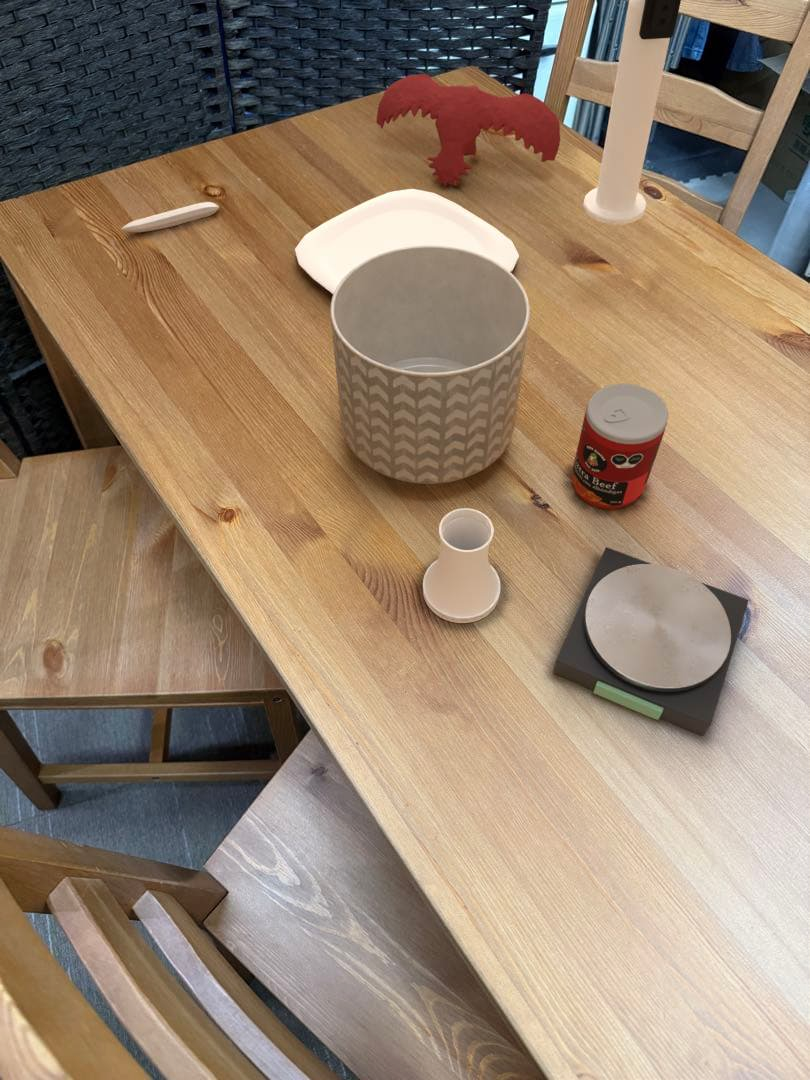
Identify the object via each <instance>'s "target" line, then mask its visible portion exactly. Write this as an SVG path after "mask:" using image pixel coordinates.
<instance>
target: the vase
mask: <svg viewBox="0 0 810 1080" xmlns="http://www.w3.org/2000/svg"><path fill="white" fill-rule="evenodd" d="M494 532H495V529H494V525H493V522H492V520H491V519H490V517H488V516H487V514H485V513H483V512H482V511H480V510H477V509H475V508H468V507H463V508H456V509H454V510H451V511H450V512H448V513H446V514H445V515H444V516H443V517H442V519H441V521H440V522H439V526H438V534H439V539H440V550H439V556H438V558H437V559H435V560H434V561H433V562H432V563H431V564H430V565H429V567H428V568H427V569H426V571H425V573H424V576H423V580H422V595H423V599H424V601H425V603H426V606H427V607H428V608H429V610H431V611H432V612H433V613H434V614H435V615H436V616H437V617H439V618H441V619H443V620H445V621H447V622H451V623H454V624H455V623H457V624H470V623H473V622H474V623H475V622H477V621H479V620H482V619H484V618H485V617H487V616H489V615H490V614H491V613H492V612H493V610H494V609H495V608H496V607H497V605H498V602H499V600H500V594H501V580H500V577H499V574H498V572H497V571H496V569H495V568H494V567H493V566H492V564H491V563H490V560H489V551H490V545H491V543H492V539H493V537H494V534H495V533H494Z"/></svg>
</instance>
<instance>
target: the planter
mask: <svg viewBox="0 0 810 1080" xmlns="http://www.w3.org/2000/svg"><path fill="white" fill-rule="evenodd" d="M329 310H330V311H329V312H330V323H331V334H332V343H333V344H332V345H333V352H334V365H335V374H336V384H337V394H338V403H339V415H340V424H341V430H342V434H343V437H344V439H345V442H346V443H347V445H348V447H349V448H350V450H351V451H352V452H353V454H354V455H355V456H356V457H357V458H358V459H359V460H360V461H361V462H362V463H363V464H365V465H366V466H367V467H369V468H371V469H372V470H374V471H376V472H377V473H379V474H382V475H384V476H386V477H388V478H391V479H394V480H396V481H397V480H398V481H401V482H406V483H411V484H424V485H426V484H428V485H432V484H433V485H436V484H445V483H451V482H455V481H460V480H463V479H466V478H469V477H472V476H474V475H476V474H478V473H479V472H481V471H484V470H485V469H486V468H488V467H489V466H491V465H492V464H493V463H495V462H496V461H497V460H498V459H499V458H500V457H501V456H502V455H503V453H504V452H505V451H506V450H507V448H508V446H509V445H510V443H511V440H512V438H513V435H514V431H515V426H516V419H517V413H518V405H519V397H520V392H521V391H520V390H521V384H522V376H523V369H524V362H525V355H526V354H525V353H526V346H527V340H528V332H529V326H530V319H531V306H530V301H529V297H528V294H527V291H526V290H525V288H524V286H523V285H522V283H521V282H520V281H519V280H518V277H516V276H515V275H514V274H513V272H509V271H508V270H507V269H506V268H504V267H503V266H502V265H500V264H499V263H497V262H495V261H493V260H491V259H489V258H487V257H485V256H483V255H480V254H478V253H475V252H471V251H468V250H464V249H460V248H454V247H447V246H433V245H428V246H412V247H405V248H400V249H395V250H391V251H388V252H385V253H382V254H379V255H377V256H374V257H372V258H370V259H368V260H366V261H364V262H363V263H361V264H359V265H358V266H357V267H355V268H354V269H352V270H351V271H350V272H349V273H348V274H347V275H346V276H345V277H344V278H343V279H342V280H341V282H340V283H339V285H338V286H337V288H336V290H335V292H334V294H333V295H332V297H331V301H330V309H329Z"/></svg>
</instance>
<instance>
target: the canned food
mask: <svg viewBox="0 0 810 1080" xmlns="http://www.w3.org/2000/svg"><path fill="white" fill-rule="evenodd" d="M668 420H669V409H668V406H667V403H666V402H665V401H664V399H663V398H662V397H661V396H659V395H658V393H656V392H655V391H653V390H652V389H649V388H647V387H645V386H642V385H639V384H634V383H614V384H610V385H606V386H604V387H602V388H600V389H598V390H597V391H595V392H594V394H593V395H591V397H590V399H589V401H588V404H587V405H586V409H585V412H584V416H583V421H582V424H581V425H582V426H581V430H580V435H579V439H578V444H577V449H576V453H575V458H574V462H573V466H572V472H571V480H572V485H573V489H574V490H575V492H576V494H577V495H578V496H579V497H580V499H581V500H583V501H585V502H586V503H588V504H590V505H592V506H594V507H597V508H601V509H613V510H615V509H619V508H624V507H627V506H629V505H631V504H633V503H634V502H636V500H637V499H638V498H639V497H640V496H641V495H642V494H643V493H644V491H645V489H646V486H647V483H648V480H649V477H650V475H651V473H652V469H653V466H654V463H655V461H656V457H657V455H658V453H659V450H660V446H661V444H662V440H663V437H664V434H665V432H666V428H667V425H668Z"/></svg>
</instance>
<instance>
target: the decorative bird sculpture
mask: <svg viewBox="0 0 810 1080" xmlns="http://www.w3.org/2000/svg"><path fill="white" fill-rule="evenodd" d="M419 110H421V111H420V112H421V118H423V119H424V118H426V117H427V116H428V115H429V118H430V119H431V120H432V121H433V120H435V121H434V125H435V129H436V131H437V135H438V140H439V143H440V151H439V152H438V154H437V155H435V156H431V157H427V160H428V161H431V162H430V163H429V164H428V165H427V166H428V168H431V169H434V170H435V171H433V173H432V175H433V176H436V177H437V178H436V180H435V182H437V183H443V187H444V188H447V187H448V184H449V185H452V186H454V187H457V186H458V185H457V181H459V182H461V181H462V178H461V176H469V172H468V171H467V170H473V169H474V167H473V166H471V165H469V164H467V163H466V162H465V159H464V158H465V157H466V156H467V157H468V156H473V157H474V158H473V160H475V158H476V157H477V155H478V154H480V152H481V150H480V151H478V149H477V143H476V142H477V138H478V137H479V135H480V134H481V132H482V129H483V130H485V131H486V132H488V131H489V129H490V128H491V127H493V130H494V132H495V133H498V132H499V131H500V130H501V129H503V135H504V136H507V135H509V134H511V132H514V140H515V141H517V142H518V141H520V140H523V146H524V148H525V149H526V150H530V147H533V154H535V155H537V154H540V153H541V162H542V163H543V162H547V161H552V162H553V161H555V160H556V156H557V155H558V151H559V148H560V145H561V144H560V143H561V132H560V130H561V125H560V120H559V118H558V116H557V114H556V113H555V112H554V111H553V110H552V109H551V108H550V107H549V106H548V105H547V104H546V102H544V101H542V100H541V99H540V98H538V97H535V96H534V95H533V94H529V93H520V94H517V95H513V96H506V97H503V96H497V95H495V94H492V93H489V92H486V91H484V90H482V89H480V88H479V87H478V85H476V84H474V85H448V86H446V85H441V84H440V83H438V82H436V81H435V80H434V79H433V78H432V77H431V76H430V75H429V74H427V73H420V74H410V75H407V76H404V77H403V78H400V79H399V80H397V81H395V82H393V83H392V84H390V85H389V86H388V87H387V88H386V89H385V91H384V92H383V94H382V97H381V99H380V101H379V102H378V107H377V114H376V122H375V123H376V124H377V125H379V126H380V129H384V126H385V123H387V125H389V124H390V122H391V120H392V122H395V121H396V120H397V119H398V118H399V116H400V115H401V117H402V118H405V117H406V116H407V114H408V113H409V112H410V111H411V114H412V117H413V118H415V117H416V116H417V115H418V112H419ZM503 127H504V128H503ZM481 128H482V129H481ZM464 156H465V157H464Z"/></svg>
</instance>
